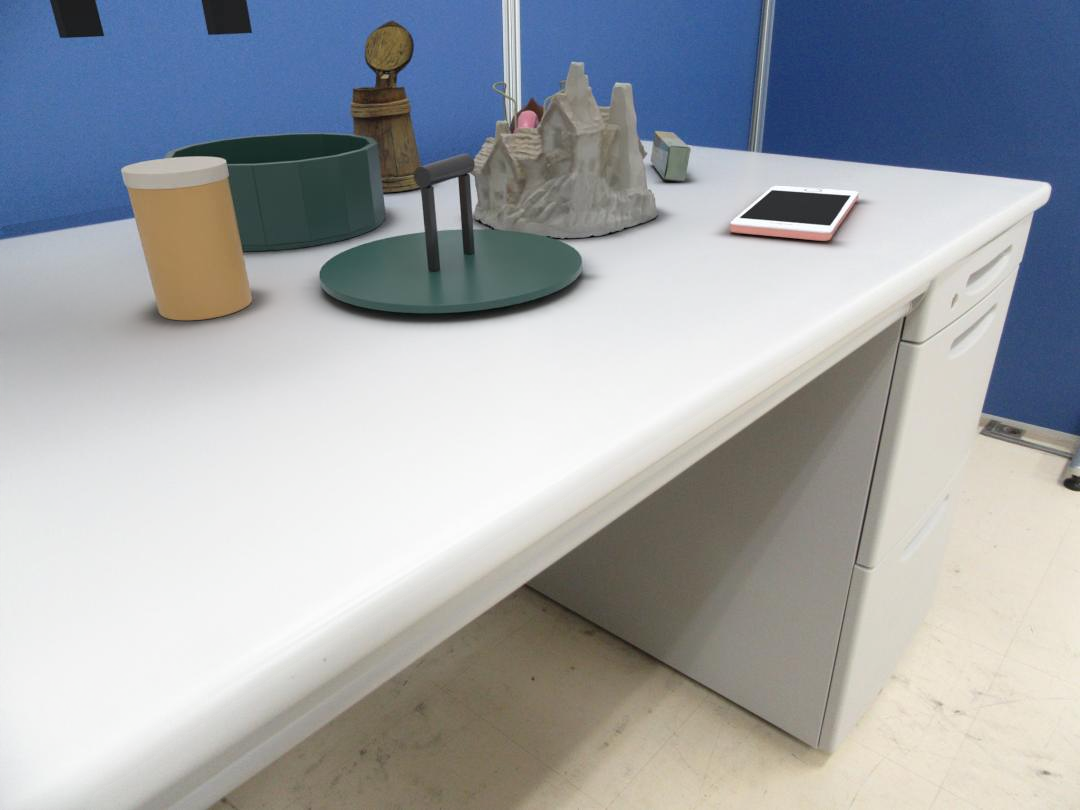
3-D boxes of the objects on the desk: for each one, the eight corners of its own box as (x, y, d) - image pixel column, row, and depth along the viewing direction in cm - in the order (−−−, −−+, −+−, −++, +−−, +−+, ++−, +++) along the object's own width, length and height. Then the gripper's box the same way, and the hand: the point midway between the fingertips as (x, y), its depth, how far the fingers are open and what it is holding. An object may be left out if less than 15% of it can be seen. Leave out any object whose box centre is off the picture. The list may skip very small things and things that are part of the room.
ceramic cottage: (681, 213, 78) (677, 48, 72) (555, 252, 69) (538, 67, 63) (576, 200, 89) (565, 56, 83) (456, 232, 80) (434, 73, 74)
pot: (139, 238, 76) (118, 158, 72) (283, 198, 91) (271, 129, 88) (291, 260, 67) (276, 171, 64) (422, 212, 83) (415, 137, 79)
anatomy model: (478, 159, 92) (486, 50, 96) (495, 217, 105) (501, 119, 109) (566, 158, 91) (569, 48, 95) (571, 216, 104) (574, 118, 108)
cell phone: (858, 199, 82) (859, 190, 82) (829, 242, 68) (830, 231, 67) (772, 193, 86) (773, 184, 85) (728, 232, 72) (728, 222, 71)
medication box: (686, 182, 93) (692, 147, 91) (663, 181, 93) (668, 146, 91) (669, 162, 104) (674, 130, 102) (649, 161, 104) (653, 129, 102)
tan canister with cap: (137, 313, 56) (98, 170, 52) (209, 286, 62) (180, 154, 57) (202, 326, 54) (167, 176, 49) (272, 297, 59) (247, 159, 54)
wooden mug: (441, 171, 103) (428, 19, 95) (417, 193, 91) (401, 20, 83) (374, 172, 104) (357, 21, 96) (342, 193, 92) (319, 23, 84)
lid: (263, 298, 59) (240, 175, 55) (421, 233, 75) (412, 134, 71) (501, 340, 50) (494, 198, 46) (621, 256, 66) (624, 145, 62)
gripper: (285, -458, 38) (346, 30, 47) (-21, -346, 48) (79, 36, 58) (154, -543, 32) (254, 34, 41) (-163, -394, 42) (-26, 40, 52)
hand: (152, 36), depth 50 cm, fingers open, 13 cm apart
